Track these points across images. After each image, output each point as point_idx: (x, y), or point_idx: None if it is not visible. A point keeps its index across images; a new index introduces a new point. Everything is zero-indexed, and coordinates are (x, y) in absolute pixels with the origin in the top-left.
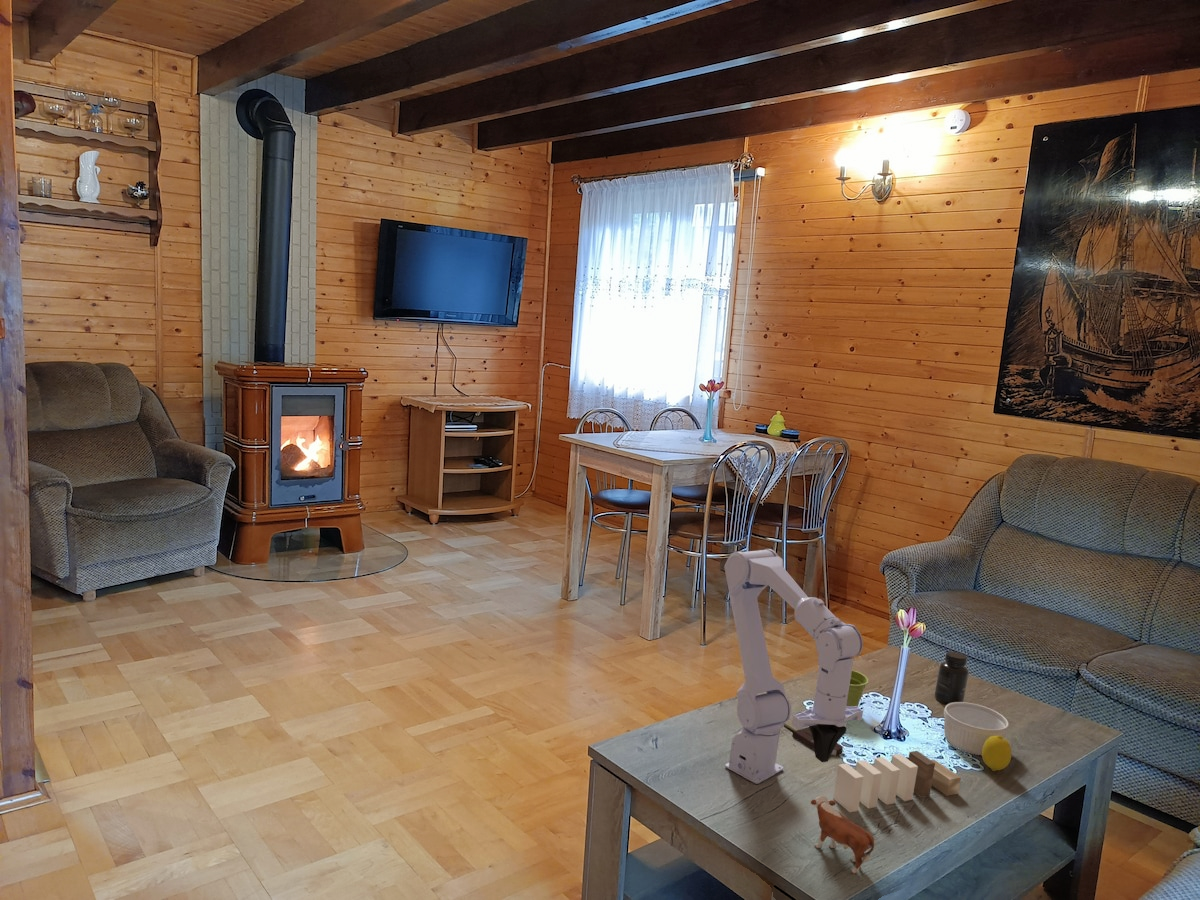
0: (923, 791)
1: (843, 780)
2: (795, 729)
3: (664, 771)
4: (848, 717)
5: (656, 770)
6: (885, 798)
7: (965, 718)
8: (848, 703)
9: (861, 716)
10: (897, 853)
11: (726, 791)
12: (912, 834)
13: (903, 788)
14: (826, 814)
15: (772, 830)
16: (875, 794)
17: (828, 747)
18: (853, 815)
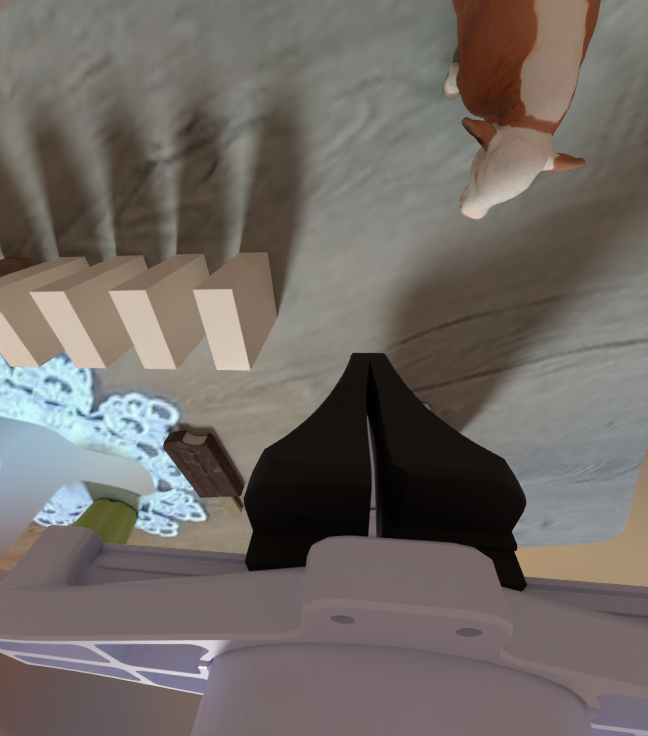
0: (10, 262)
1: (255, 322)
2: (230, 498)
3: (571, 476)
4: (188, 628)
5: (583, 481)
6: (137, 267)
7: None
8: (98, 523)
9: (24, 563)
10: None
11: (512, 401)
12: (115, 77)
13: (65, 276)
14: (590, 34)
15: (557, 236)
16: (167, 265)
17: (383, 393)
18: (265, 236)
